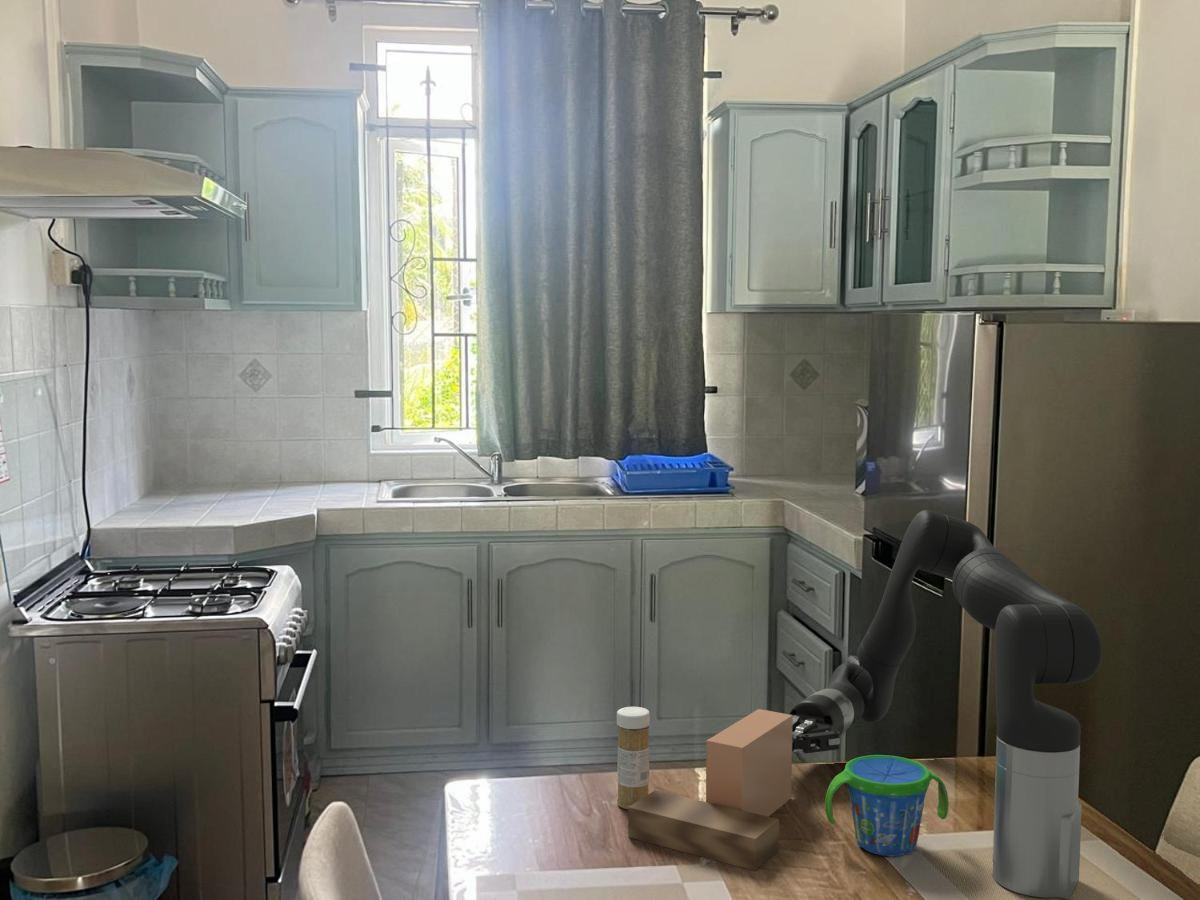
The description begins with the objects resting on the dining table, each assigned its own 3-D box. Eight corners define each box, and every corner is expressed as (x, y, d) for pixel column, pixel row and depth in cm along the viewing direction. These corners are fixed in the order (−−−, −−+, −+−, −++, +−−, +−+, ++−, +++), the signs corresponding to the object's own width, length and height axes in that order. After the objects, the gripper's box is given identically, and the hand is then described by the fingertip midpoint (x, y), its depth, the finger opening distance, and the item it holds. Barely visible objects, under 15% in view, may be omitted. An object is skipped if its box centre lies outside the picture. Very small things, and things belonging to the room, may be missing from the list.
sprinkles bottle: (634, 796, 162) (634, 703, 161) (656, 805, 159) (656, 711, 158) (609, 804, 160) (610, 709, 158) (631, 814, 156) (631, 717, 155)
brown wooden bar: (778, 849, 145) (779, 819, 144) (755, 870, 139) (755, 838, 139) (655, 818, 154) (655, 790, 154) (628, 837, 149) (628, 807, 148)
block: (791, 798, 162) (792, 715, 161) (741, 838, 148) (742, 747, 147) (757, 790, 164) (758, 709, 163) (705, 829, 151) (706, 740, 150)
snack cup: (832, 864, 141) (833, 783, 140) (817, 828, 151) (818, 753, 150) (959, 864, 141) (961, 784, 140) (935, 829, 151) (937, 754, 150)
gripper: (782, 687, 180) (733, 716, 166) (863, 701, 173) (819, 732, 159) (782, 733, 181) (733, 767, 166) (862, 749, 174) (818, 785, 159)
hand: (775, 750), depth 162 cm, fingers closed
